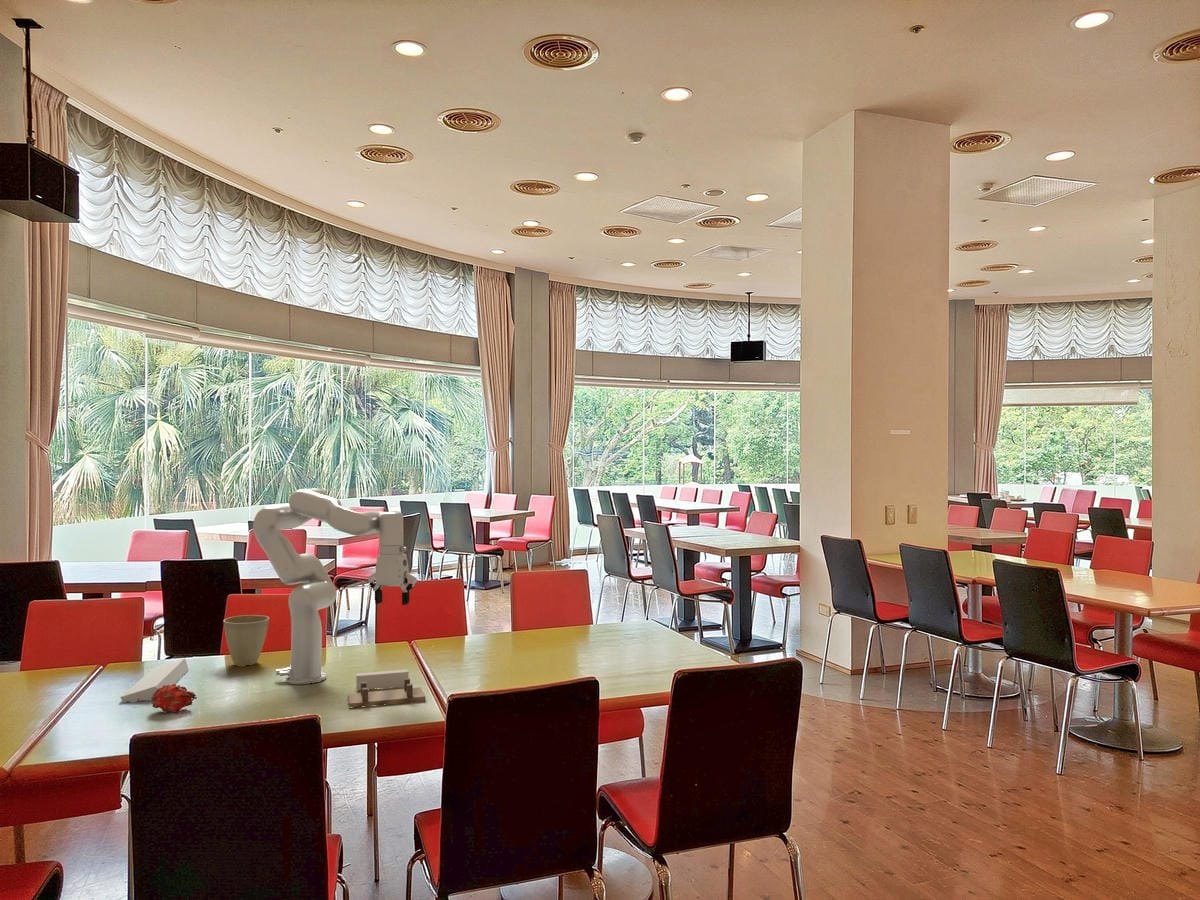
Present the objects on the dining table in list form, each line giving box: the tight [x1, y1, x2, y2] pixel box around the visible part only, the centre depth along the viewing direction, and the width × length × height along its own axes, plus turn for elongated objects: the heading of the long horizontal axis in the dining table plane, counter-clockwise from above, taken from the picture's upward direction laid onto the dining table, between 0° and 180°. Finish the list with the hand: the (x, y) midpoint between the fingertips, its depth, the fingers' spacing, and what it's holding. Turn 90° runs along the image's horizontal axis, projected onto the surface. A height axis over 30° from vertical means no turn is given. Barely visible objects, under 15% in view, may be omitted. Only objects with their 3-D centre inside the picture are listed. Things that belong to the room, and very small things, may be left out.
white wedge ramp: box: [119, 657, 189, 703], centre depth 257 cm, size 34×5×10 cm
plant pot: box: [223, 614, 270, 667], centre depth 284 cm, size 15×15×16 cm
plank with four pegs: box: [347, 677, 426, 708], centre depth 244 cm, size 22×10×5 cm, turn 110°
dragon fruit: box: [151, 684, 198, 714], centre depth 232 cm, size 8×8×12 cm
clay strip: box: [355, 668, 409, 690], centre depth 257 cm, size 16×3×5 cm, turn 110°
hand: (392, 603), depth 257 cm, fingers open, 9 cm apart
